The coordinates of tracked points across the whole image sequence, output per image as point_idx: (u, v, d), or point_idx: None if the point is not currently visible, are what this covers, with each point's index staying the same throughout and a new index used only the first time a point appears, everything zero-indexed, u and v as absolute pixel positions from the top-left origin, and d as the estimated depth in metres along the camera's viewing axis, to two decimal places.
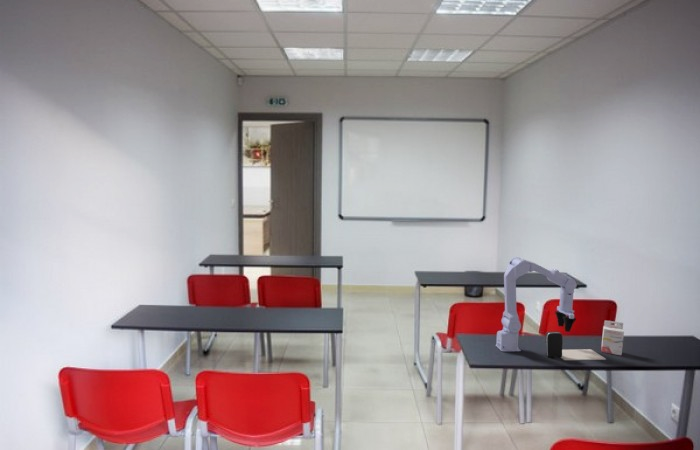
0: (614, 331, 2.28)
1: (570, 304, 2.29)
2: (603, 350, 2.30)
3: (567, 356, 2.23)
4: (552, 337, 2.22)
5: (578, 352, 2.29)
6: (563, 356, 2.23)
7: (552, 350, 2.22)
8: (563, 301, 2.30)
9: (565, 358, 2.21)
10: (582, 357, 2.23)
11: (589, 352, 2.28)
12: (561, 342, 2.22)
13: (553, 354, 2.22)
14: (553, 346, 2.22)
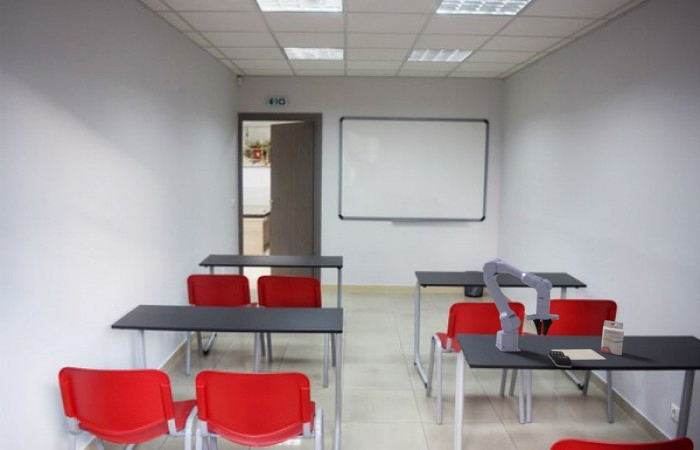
0: (614, 331, 2.28)
1: (538, 308, 2.20)
2: (603, 350, 2.30)
3: None
4: None
5: (578, 352, 2.29)
6: None
7: None
8: (536, 305, 2.21)
9: None
10: (582, 357, 2.23)
11: (589, 352, 2.28)
12: None
13: None
14: None
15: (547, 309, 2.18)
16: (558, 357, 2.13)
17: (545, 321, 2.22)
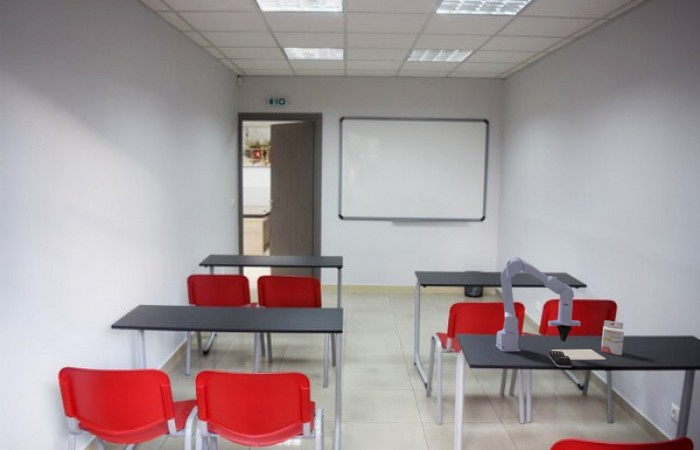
0: (614, 331, 2.28)
1: (560, 314, 2.21)
2: (603, 350, 2.30)
3: None
4: None
5: (578, 352, 2.29)
6: None
7: None
8: (560, 311, 2.22)
9: None
10: (582, 357, 2.23)
11: (589, 352, 2.28)
12: None
13: None
14: None
15: (569, 315, 2.20)
16: (558, 357, 2.13)
17: None
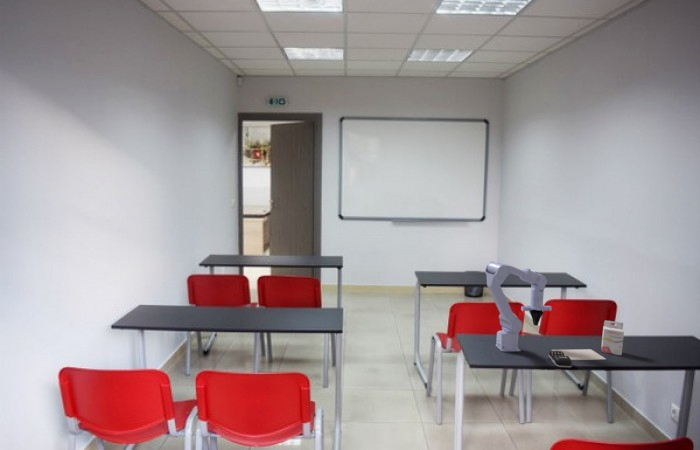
0: (614, 331, 2.28)
1: (532, 300, 2.34)
2: (603, 350, 2.30)
3: None
4: None
5: (578, 352, 2.29)
6: None
7: None
8: (535, 298, 2.33)
9: None
10: (582, 357, 2.23)
11: (589, 352, 2.28)
12: None
13: None
14: None
15: (540, 301, 2.33)
16: (558, 357, 2.13)
17: None
